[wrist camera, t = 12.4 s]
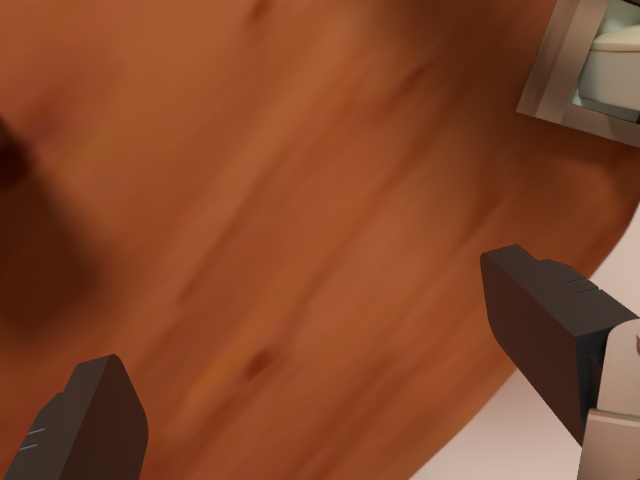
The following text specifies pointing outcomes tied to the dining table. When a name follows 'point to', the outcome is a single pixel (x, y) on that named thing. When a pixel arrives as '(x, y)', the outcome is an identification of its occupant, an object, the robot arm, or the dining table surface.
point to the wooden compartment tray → (578, 70)
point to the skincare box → (613, 69)
